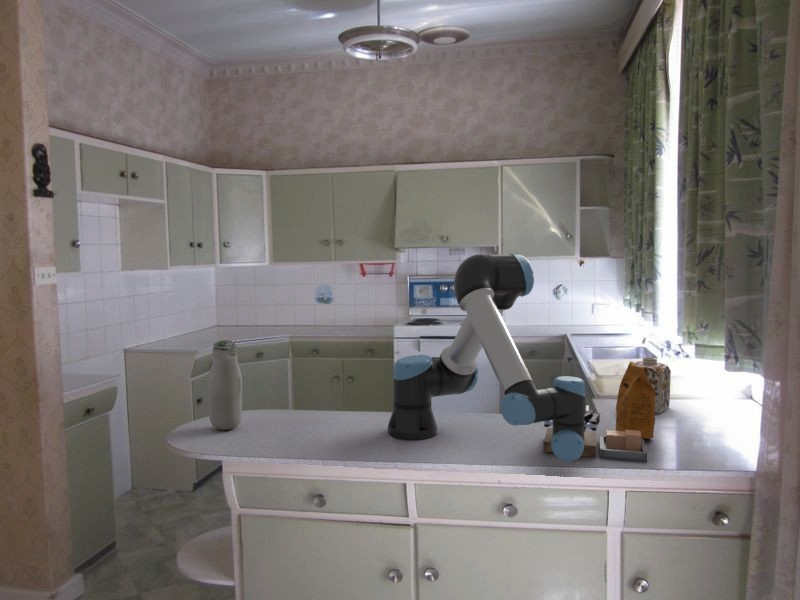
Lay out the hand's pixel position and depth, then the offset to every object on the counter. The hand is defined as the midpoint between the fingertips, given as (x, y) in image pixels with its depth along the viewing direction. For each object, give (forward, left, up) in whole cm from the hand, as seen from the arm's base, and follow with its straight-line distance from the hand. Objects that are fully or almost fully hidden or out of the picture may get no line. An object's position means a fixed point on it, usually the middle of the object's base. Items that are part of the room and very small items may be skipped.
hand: (571, 408), depth 187 cm
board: (0, -5, -10) cm, 11 cm away
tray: (+14, -5, -10) cm, 18 cm away
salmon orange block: (+15, -5, -7) cm, 17 cm away
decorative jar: (+25, +48, -10) cm, 55 cm away
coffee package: (+18, +12, -10) cm, 24 cm away
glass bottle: (-104, -18, -10) cm, 106 cm away
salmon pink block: (+12, -3, -9) cm, 16 cm away
